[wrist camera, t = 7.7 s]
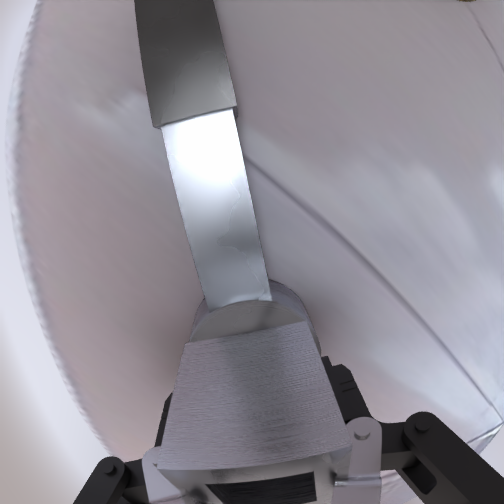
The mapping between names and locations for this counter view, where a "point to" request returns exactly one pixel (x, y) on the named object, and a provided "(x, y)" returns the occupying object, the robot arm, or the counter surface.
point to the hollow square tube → (254, 421)
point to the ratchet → (209, 169)
